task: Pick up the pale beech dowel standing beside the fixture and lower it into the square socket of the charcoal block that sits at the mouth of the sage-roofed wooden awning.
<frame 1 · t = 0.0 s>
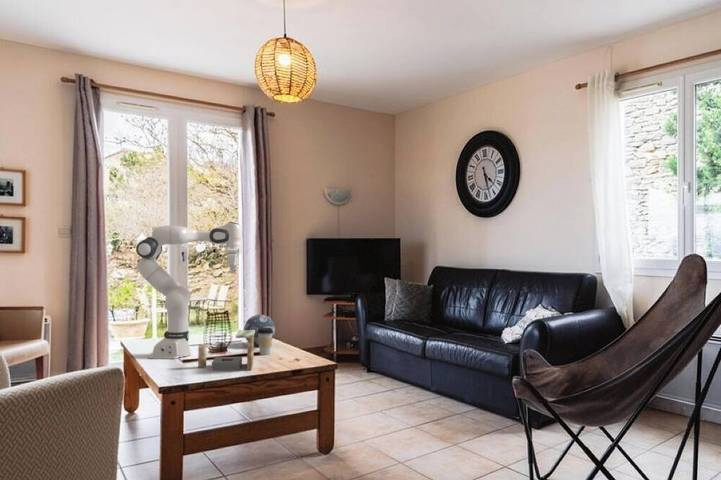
hand: (233, 273, 289), 48 cm above the table, fingers open, 8 cm apart
decorative ball: (259, 345, 315), on the table
socket: (227, 367, 259), on the table
beech peg: (202, 367, 258), on the table
coffee cup: (265, 354, 291), on the table
awning: (250, 366, 260), on the table
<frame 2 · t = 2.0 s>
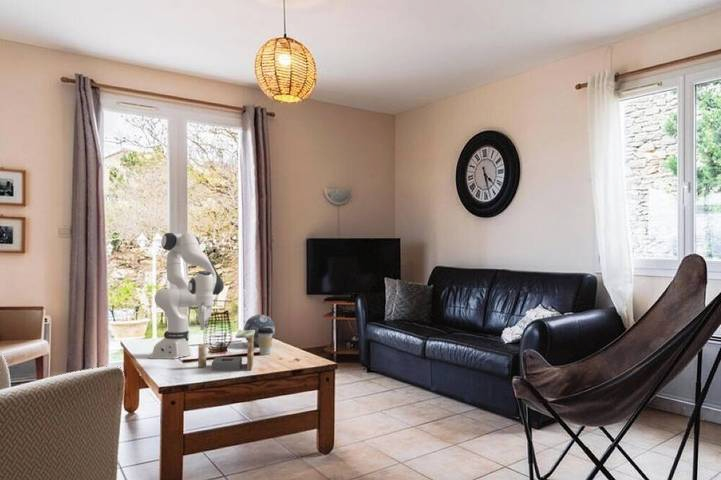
hand: (204, 328, 259), 20 cm above the table, fingers open, 8 cm apart
nothing on the table moved.
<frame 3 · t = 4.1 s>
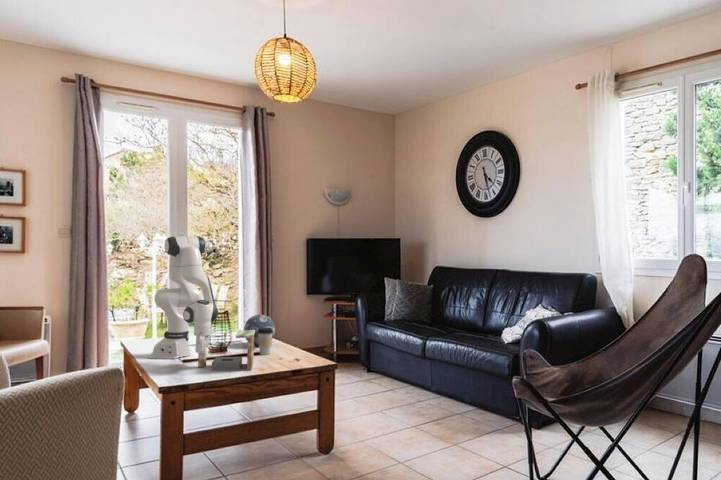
hand: (202, 357, 258), 5 cm above the table, fingers closed on beech peg, 4 cm apart
beech peg: (202, 367, 258), on the table, touching gripper
everything else where it was.
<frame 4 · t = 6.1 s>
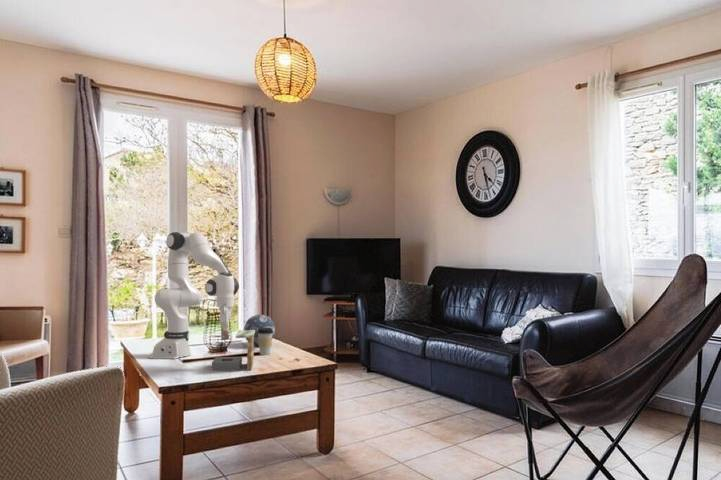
hand: (225, 329, 258), 20 cm above the table, fingers closed on beech peg, 4 cm apart
beech peg: (225, 339, 258), point 15 cm above the table, touching gripper
everything else where it was.
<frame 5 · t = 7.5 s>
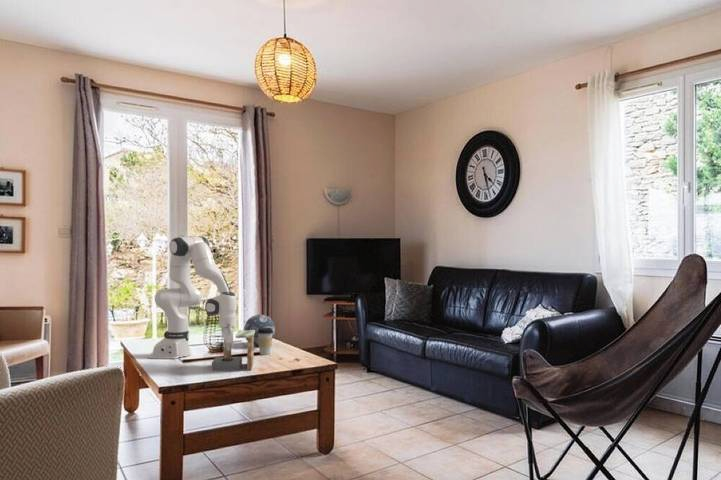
hand: (227, 349, 259), 10 cm above the table, fingers closed on beech peg, 4 cm apart
beech peg: (227, 358, 259), point 5 cm above the table, touching gripper
everything else where it was.
when the fingers open (7 cm above the table, at t = 8.4 s): beech peg drops 1 cm, resting in socket.
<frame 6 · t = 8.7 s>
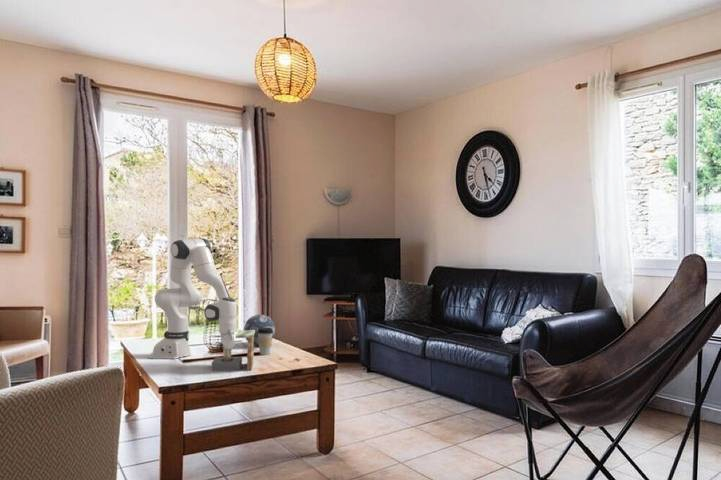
hand: (227, 354, 259), 7 cm above the table, fingers open, 7 cm apart
beech peg: (227, 367, 259), resting in socket
everything else where it was.
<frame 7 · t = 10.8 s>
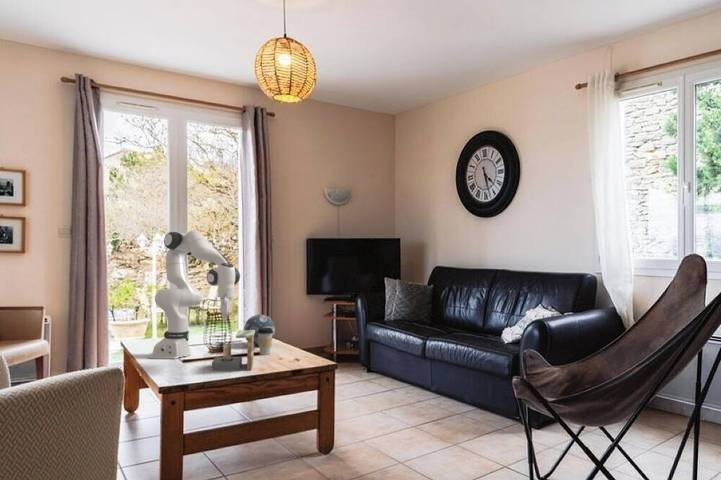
hand: (225, 319, 264), 25 cm above the table, fingers open, 8 cm apart
nothing on the table moved.
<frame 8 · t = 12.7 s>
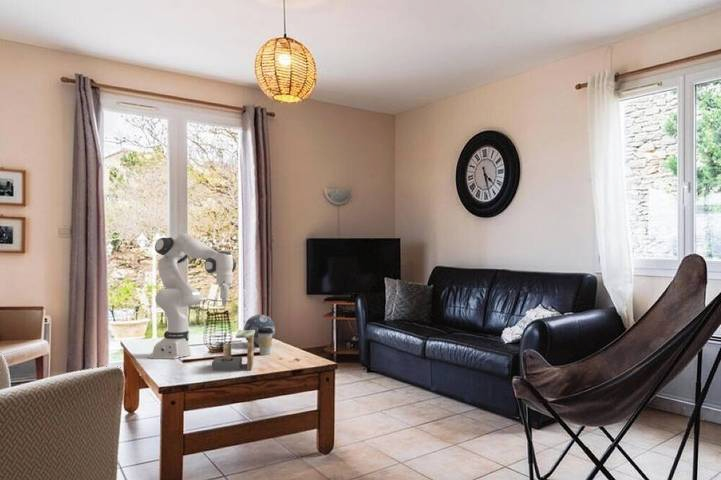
hand: (224, 305, 272), 31 cm above the table, fingers open, 8 cm apart
nothing on the table moved.
at the end: beech peg 0.1 cm off-centre on the socket, point 0.0 cm above the socket's base; beech peg tilted 0°; the gripper is holding nothing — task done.
